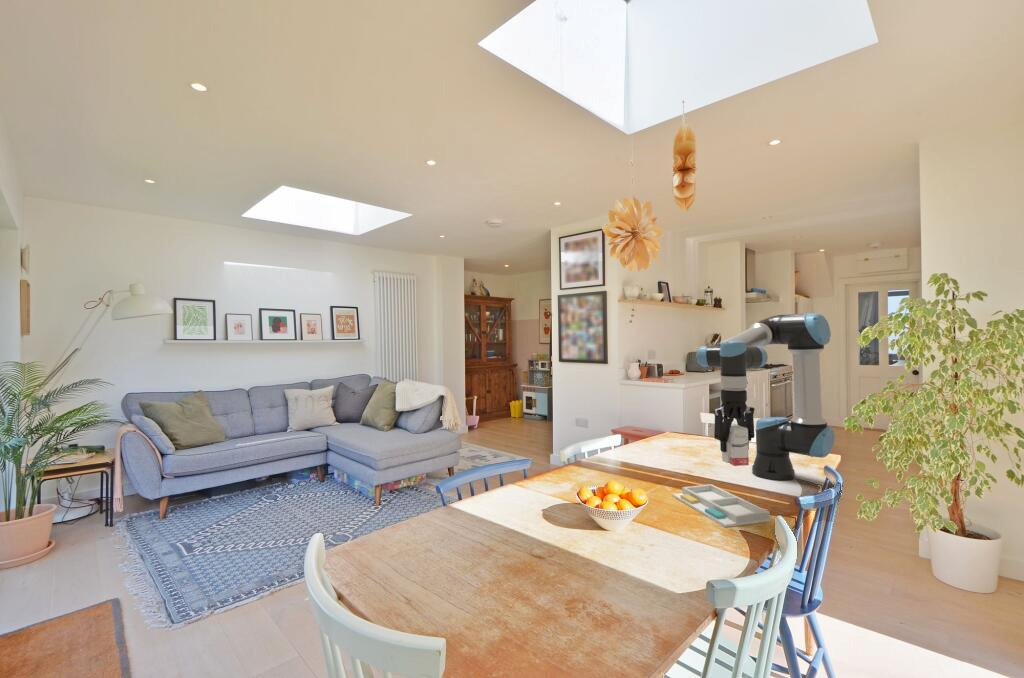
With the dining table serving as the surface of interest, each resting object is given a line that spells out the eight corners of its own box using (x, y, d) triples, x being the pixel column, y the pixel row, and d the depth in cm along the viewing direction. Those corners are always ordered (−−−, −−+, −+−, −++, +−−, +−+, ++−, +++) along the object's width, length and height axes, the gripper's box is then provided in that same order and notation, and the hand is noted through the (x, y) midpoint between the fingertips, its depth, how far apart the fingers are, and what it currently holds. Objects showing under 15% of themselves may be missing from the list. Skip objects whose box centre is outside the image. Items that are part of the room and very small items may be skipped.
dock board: (711, 491, 170) (711, 484, 170) (770, 521, 143) (769, 512, 143) (672, 496, 166) (672, 488, 166) (725, 527, 139) (724, 518, 139)
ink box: (750, 465, 144) (748, 427, 144) (734, 466, 144) (732, 428, 144) (736, 458, 153) (734, 422, 153) (721, 459, 153) (719, 423, 153)
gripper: (750, 386, 154) (751, 455, 154) (700, 389, 150) (701, 460, 150) (767, 388, 147) (768, 461, 147) (715, 391, 143) (717, 466, 143)
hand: (734, 460), depth 149 cm, fingers closed on ink box, 6 cm apart
